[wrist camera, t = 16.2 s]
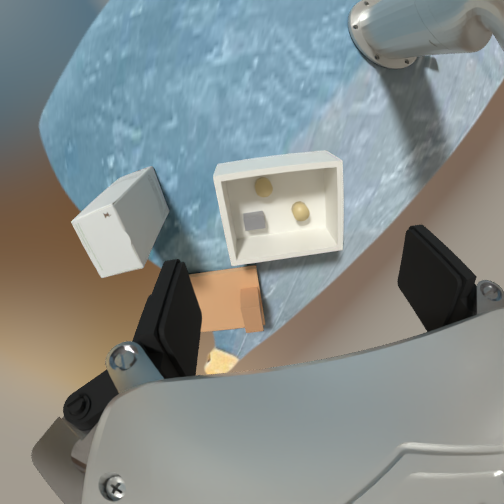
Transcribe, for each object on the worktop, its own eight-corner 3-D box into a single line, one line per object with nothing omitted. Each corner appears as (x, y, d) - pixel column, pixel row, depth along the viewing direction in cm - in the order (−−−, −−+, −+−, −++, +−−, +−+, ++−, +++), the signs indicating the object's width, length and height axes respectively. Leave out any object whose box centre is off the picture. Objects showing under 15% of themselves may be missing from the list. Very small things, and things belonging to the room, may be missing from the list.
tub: (326, 150, 37) (342, 160, 31) (329, 228, 44) (342, 249, 38) (217, 164, 38) (213, 176, 32) (232, 241, 44) (231, 266, 38)
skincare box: (119, 177, 38) (67, 218, 24) (155, 163, 37) (112, 200, 24) (137, 223, 42) (99, 280, 28) (173, 213, 41) (144, 270, 28)
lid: (255, 261, 47) (258, 287, 41) (264, 317, 54) (267, 344, 48) (164, 274, 48) (155, 299, 42) (185, 326, 55) (180, 352, 49)
